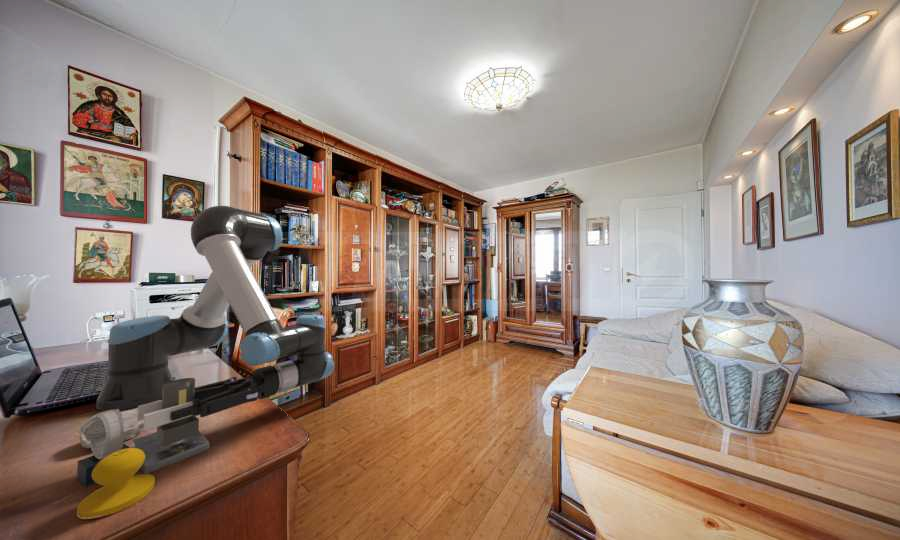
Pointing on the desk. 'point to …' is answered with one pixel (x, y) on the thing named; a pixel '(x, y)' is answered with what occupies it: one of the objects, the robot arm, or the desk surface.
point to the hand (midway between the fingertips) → (141, 417)
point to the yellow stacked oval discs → (117, 483)
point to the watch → (96, 431)
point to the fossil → (129, 426)
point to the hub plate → (168, 450)
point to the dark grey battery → (174, 396)
